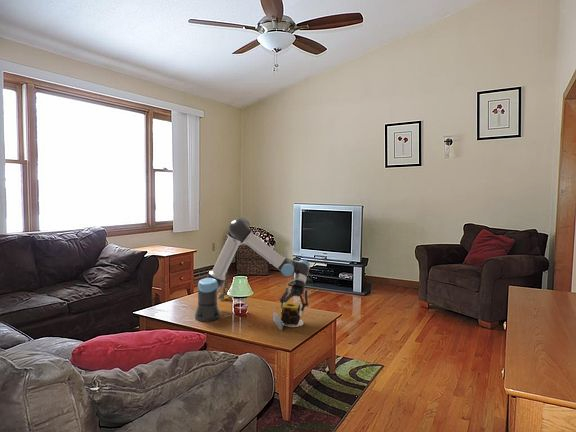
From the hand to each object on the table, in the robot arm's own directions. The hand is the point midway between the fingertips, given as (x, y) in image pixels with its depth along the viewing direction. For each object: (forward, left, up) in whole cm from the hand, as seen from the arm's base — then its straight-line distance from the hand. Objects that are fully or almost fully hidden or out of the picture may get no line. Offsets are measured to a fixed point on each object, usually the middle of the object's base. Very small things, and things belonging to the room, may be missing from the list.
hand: (290, 314), depth 237 cm
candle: (0, 0, -4) cm, 4 cm away
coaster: (+2, +2, -6) cm, 7 cm away
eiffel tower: (-31, +60, -6) cm, 68 cm away
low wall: (-8, 0, -6) cm, 10 cm away
